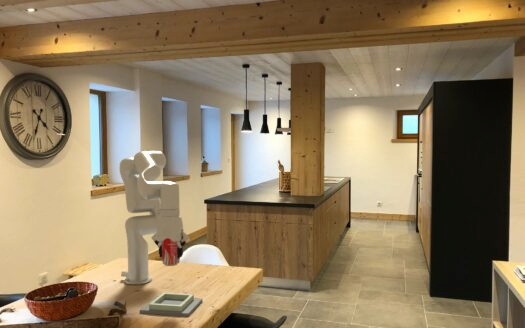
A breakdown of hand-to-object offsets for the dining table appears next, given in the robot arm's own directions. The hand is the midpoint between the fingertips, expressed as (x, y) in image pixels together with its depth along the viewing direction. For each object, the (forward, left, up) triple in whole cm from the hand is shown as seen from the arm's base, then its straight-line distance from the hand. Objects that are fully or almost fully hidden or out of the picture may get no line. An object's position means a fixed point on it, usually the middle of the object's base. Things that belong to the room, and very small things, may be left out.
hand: (170, 256), depth 167 cm
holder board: (+1, -1, -20) cm, 20 cm away
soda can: (0, 0, -3) cm, 3 cm away
